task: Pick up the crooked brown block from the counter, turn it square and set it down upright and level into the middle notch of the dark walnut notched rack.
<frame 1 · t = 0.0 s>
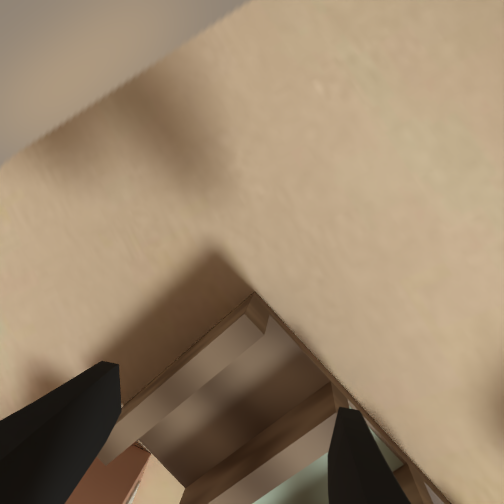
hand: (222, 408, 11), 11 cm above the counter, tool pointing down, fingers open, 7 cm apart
rack: (297, 472, 22), on the counter
brown block: (108, 492, 25), on the counter
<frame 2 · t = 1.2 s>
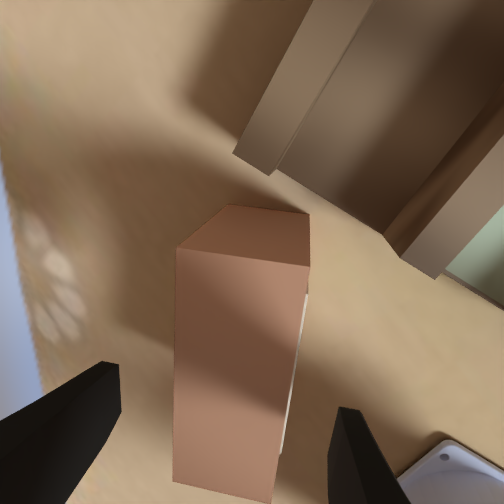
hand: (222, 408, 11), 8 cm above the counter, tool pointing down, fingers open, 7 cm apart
brown block: (258, 299, 18), on the counter
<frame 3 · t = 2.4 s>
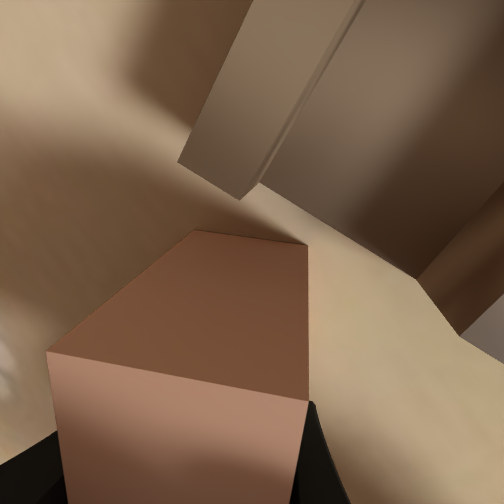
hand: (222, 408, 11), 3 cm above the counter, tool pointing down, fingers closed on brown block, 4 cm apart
brown block: (238, 357, 13), on the counter, touching gripper
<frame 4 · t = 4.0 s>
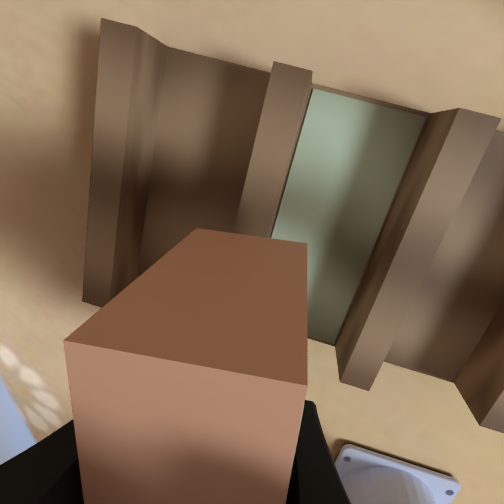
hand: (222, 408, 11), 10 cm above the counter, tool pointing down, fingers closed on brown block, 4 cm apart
rack: (323, 226, 18), on the counter
brown block: (239, 352, 13), point 7 cm above the counter, touching gripper
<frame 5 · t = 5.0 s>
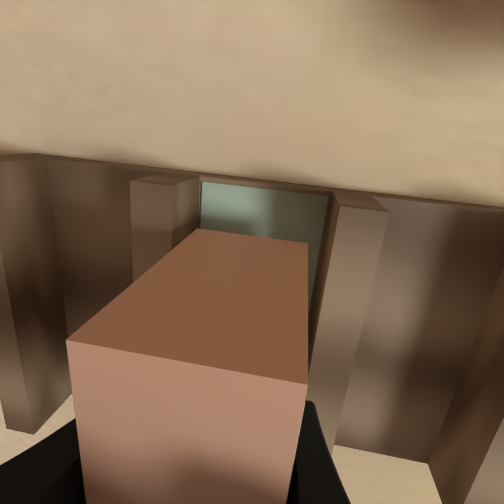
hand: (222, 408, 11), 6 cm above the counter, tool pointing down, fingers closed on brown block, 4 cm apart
rack: (253, 311, 17), on the counter
brown block: (240, 351, 13), point 3 cm above the counter, touching gripper
when the fingers open (5 cm above the counter, at t = 5.7 s): brown block stays where it is, resting on rack.
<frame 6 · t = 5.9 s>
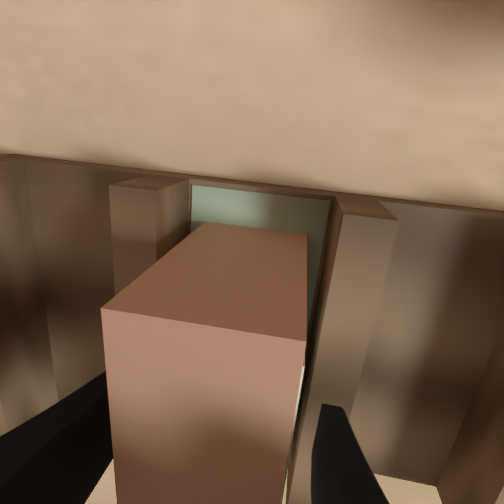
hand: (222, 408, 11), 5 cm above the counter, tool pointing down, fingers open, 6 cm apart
rack: (249, 323, 15), on the counter
brown block: (245, 337, 14), point 1 cm above the counter, touching rack
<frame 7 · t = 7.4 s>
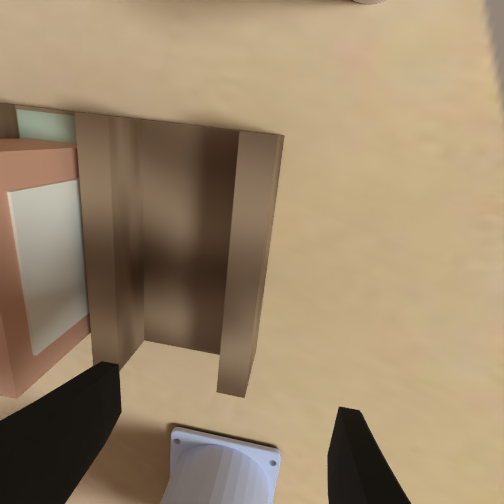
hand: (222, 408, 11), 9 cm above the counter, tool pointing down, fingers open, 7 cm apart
rack: (84, 227, 20), on the counter
brown block: (72, 233, 19), point 1 cm above the counter, touching rack
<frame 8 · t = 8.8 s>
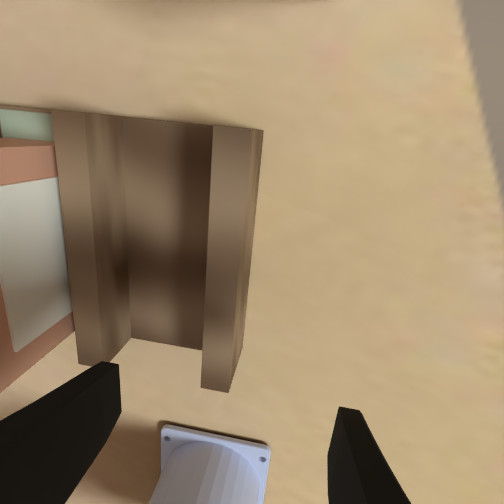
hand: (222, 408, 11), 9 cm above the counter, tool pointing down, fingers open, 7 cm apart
rack: (70, 226, 20), on the counter
brown block: (57, 231, 19), point 1 cm above the counter, touching rack
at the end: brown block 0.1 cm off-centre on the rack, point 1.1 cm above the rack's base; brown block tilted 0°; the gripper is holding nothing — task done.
